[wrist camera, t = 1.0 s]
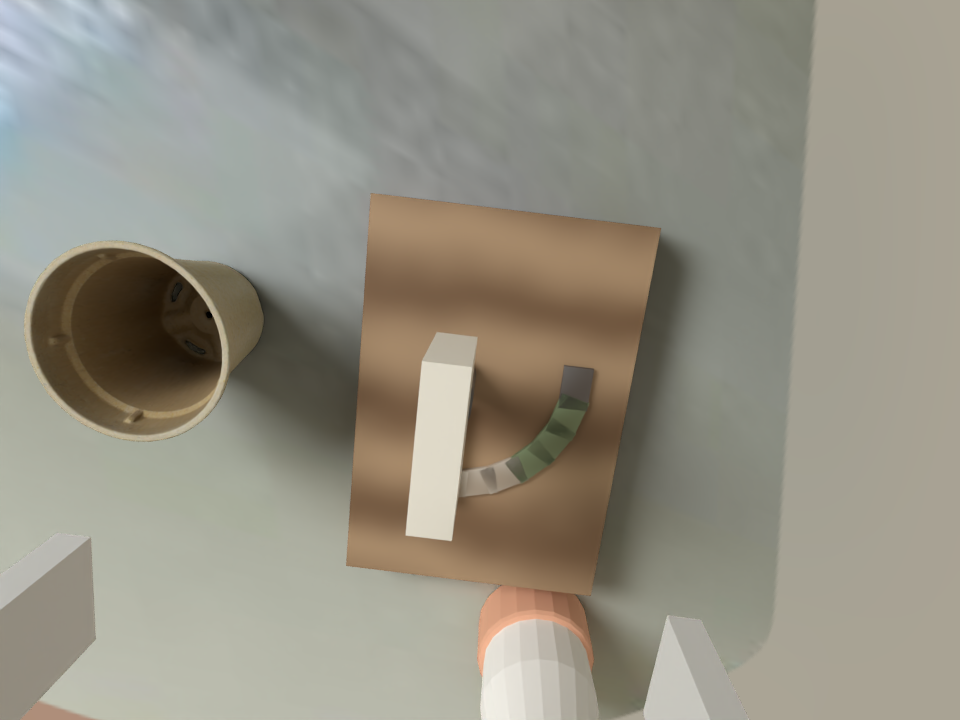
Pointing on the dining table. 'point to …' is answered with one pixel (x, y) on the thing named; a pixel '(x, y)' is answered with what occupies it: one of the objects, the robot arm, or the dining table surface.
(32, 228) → the dining table surface
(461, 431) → the white angular block
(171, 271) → the flower pot
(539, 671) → the salt shaker
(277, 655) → the dining table surface
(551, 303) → the tuner board
